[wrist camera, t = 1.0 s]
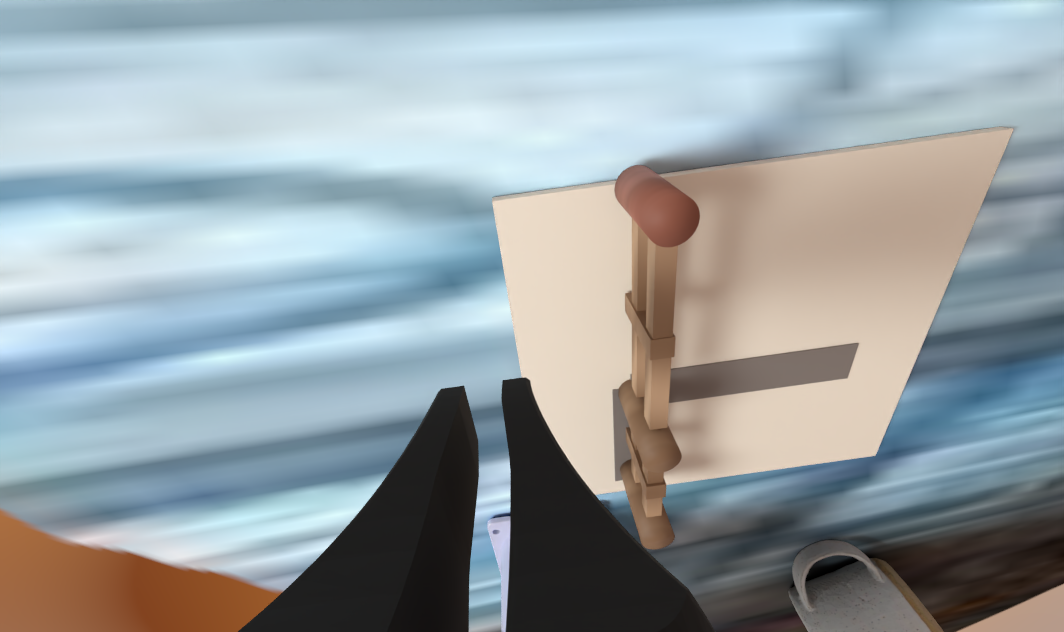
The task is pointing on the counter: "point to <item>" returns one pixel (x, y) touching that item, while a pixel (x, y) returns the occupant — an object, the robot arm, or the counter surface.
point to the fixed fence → (647, 470)
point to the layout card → (748, 302)
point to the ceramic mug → (855, 595)
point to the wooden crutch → (654, 280)
